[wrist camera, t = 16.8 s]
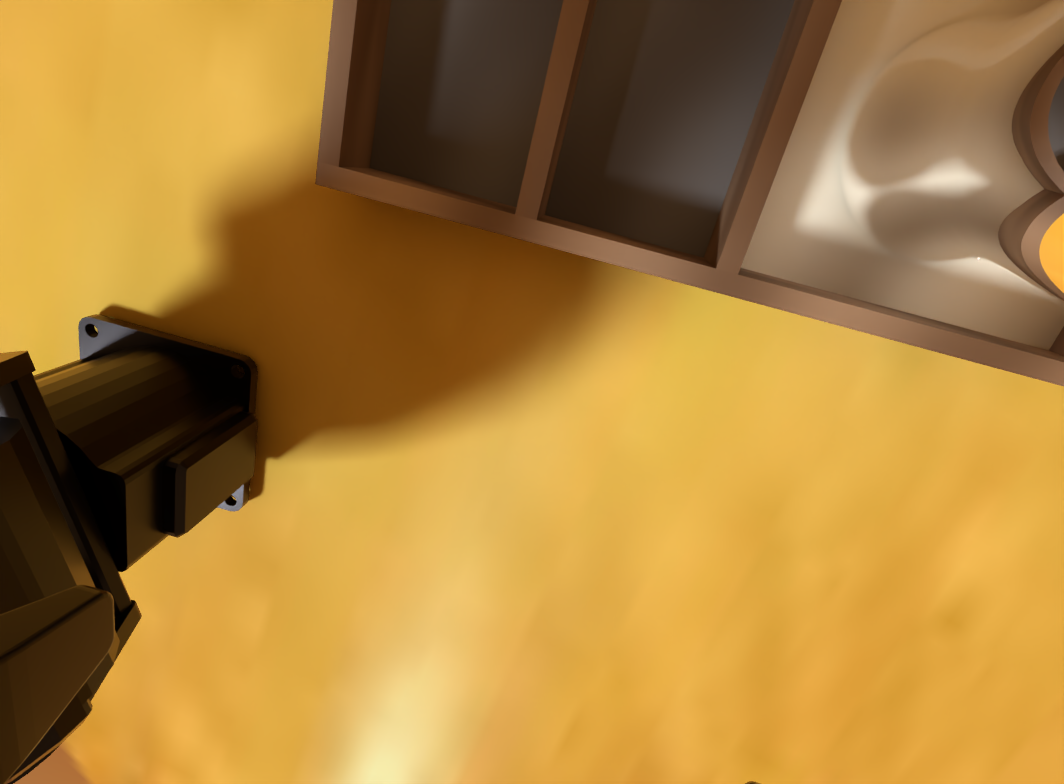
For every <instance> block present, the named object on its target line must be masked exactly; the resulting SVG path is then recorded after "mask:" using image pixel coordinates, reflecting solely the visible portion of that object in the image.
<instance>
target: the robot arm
mask: <svg viewBox="0 0 1064 784" xmlns="http://www.w3.org/2000/svg"><path fill="white" fill-rule="evenodd" d="M94 326H95V327H96V328H97V329H98V333H97V331H96V330H95V328H94ZM79 347H80V360H77V361H75V362H72V363H69V364H66V365H63V366H60V367H57V368H55V369H52V370H49V371H46V372H43V373H40V374H37V375H35V376H33V374H32V372H33V371H35V367H34V365H33V363H32V360H31V358H30V356H29V353H28V351H18V352H8V353H0V784H13V783H15V782H16V781H18V780H19V779H21V778H22V777H24V776H25V775H26V774H28V773H29V772H30V771H32V770H33V769H34V768H35V767H37V766H38V765H39V764H40V763H41V762H43V761H44V760H45V759H46V758H47V757H49V756H50V755H51V753H53V752H54V751H55V749H57V748H58V747H59V745H60V744H61V743H62V742H63V741H64V740H65V739H66V738H67V737H68V736H69V735H70V734H72V733H73V732H74V731H75V730H76V729H77V728H78V727H79V726H80V725H81V724H82V723H83V722H84V721H85V719H86V718H87V716H88V715H89V713H90V712H91V710H92V704H91V700H92V698H93V697H94V695H95V693H96V692H97V690H98V688H99V687H100V685H101V683H102V682H103V680H104V678H105V677H106V675H107V673H108V672H109V670H110V669H111V667H112V666H113V664H114V662H115V660H116V658H117V657H118V655H119V653H120V652H121V650H122V648H123V647H124V645H125V643H126V642H127V640H128V638H129V637H130V635H131V633H132V632H133V630H134V629H135V627H136V625H137V624H138V622H139V620H140V619H141V616H142V615H141V613H140V611H139V608H138V606H137V604H136V602H135V601H134V600H130V597H129V595H128V593H127V591H126V588H125V586H124V584H123V581H122V579H121V577H120V574H119V572H123V571H125V570H127V569H128V568H129V567H130V566H132V565H133V564H134V563H135V562H137V561H138V560H139V559H140V558H141V557H143V556H144V555H145V554H146V553H148V552H149V551H150V550H151V549H152V548H154V547H155V546H156V545H157V544H159V543H160V542H161V541H162V540H163V539H165V538H166V537H167V536H168V535H170V536H174V537H177V538H178V537H180V536H182V535H183V534H185V533H187V532H188V531H189V530H191V529H192V528H193V527H194V526H195V525H196V524H198V523H199V522H200V521H201V520H202V519H204V518H205V517H206V516H207V515H208V514H209V513H211V512H212V511H213V510H214V509H215V508H217V507H218V508H221V509H225V510H228V511H238V510H239V509H241V508H242V507H243V506H244V505H245V504H246V503H247V502H248V499H249V485H250V479H251V478H252V477H253V475H254V465H255V452H256V438H257V425H258V421H257V419H256V416H255V401H256V387H257V373H258V371H257V366H256V364H255V362H254V361H253V360H252V359H251V358H250V357H247V356H245V355H242V354H238V353H235V352H231V351H228V350H224V349H220V348H217V347H213V346H210V345H206V344H203V343H199V342H195V341H192V340H188V339H185V338H181V337H177V336H174V335H170V334H167V333H163V332H160V331H156V330H152V329H149V328H145V327H142V326H138V325H135V324H131V323H127V322H124V321H120V320H117V319H113V318H110V317H106V316H102V315H92V316H88V317H85V318H82V319H81V321H80V322H79ZM238 365H239V366H241V367H242V368H243V369H244V372H245V374H242V373H240V371H239V370H238ZM231 495H232V496H234V497H235V498H236V500H234V499H233V498H232V497H231ZM118 571H119V572H118ZM745 784H760V783H757V782H753V781H749V782H747V783H745Z"/></svg>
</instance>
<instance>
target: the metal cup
mask: <svg viewBox="0 0 1064 784" xmlns="http://www.w3.org/2000/svg"><path fill="white" fill-rule="evenodd" d="M840 180H841V187H842V192H843V196H844V199H845V202H846V205H847V207H848V209H849V211H850V213H851V215H852V217H853V219H854V220H855V222H856V223H857V224H858V226H859V227H860V228H861V229H862V231H863V232H864V233H865V234H866V235H867V236H868V237H869V238H870V239H872V240H873V241H874V242H875V243H877V244H878V245H879V246H881V247H883V248H884V249H886V250H888V251H890V252H892V253H894V254H897V255H899V256H902V257H905V258H909V259H914V260H919V261H926V262H954V261H966V260H977V261H979V260H987V261H990V262H993V263H996V264H998V265H999V266H1001V267H1003V268H1005V269H1007V270H1009V271H1011V272H1013V273H1014V274H1016V275H1017V276H1019V277H1021V278H1022V279H1024V280H1026V281H1027V282H1029V283H1031V284H1032V285H1034V286H1036V287H1037V288H1039V289H1041V290H1042V291H1044V292H1046V293H1047V294H1049V295H1051V296H1052V297H1054V298H1056V299H1058V300H1059V301H1061V302H1063V303H1064V0H1049V1H1048V2H1046V3H1044V4H1043V5H1041V6H1039V7H1037V8H1035V9H1033V10H1030V11H1028V12H1016V13H1000V14H990V15H982V16H977V17H972V18H968V19H964V20H961V21H957V22H954V23H951V24H948V25H945V26H943V27H941V28H938V29H936V30H934V31H932V32H930V33H928V34H926V35H924V36H923V37H921V38H919V39H918V40H916V41H914V42H913V43H912V44H910V45H909V46H907V47H906V48H905V49H903V50H902V51H901V52H900V53H898V54H897V55H896V56H895V57H894V58H893V59H892V60H891V61H890V62H889V63H888V64H887V65H886V66H885V67H884V68H883V69H882V70H881V71H880V72H879V73H878V74H877V76H876V77H875V78H874V79H873V80H872V82H871V83H870V84H869V86H868V87H867V89H866V90H865V91H864V93H863V95H862V96H861V98H860V100H859V101H858V103H857V105H856V107H855V109H854V111H853V113H852V115H851V118H850V120H849V123H848V125H847V128H846V131H845V135H844V138H843V143H842V148H841V155H840Z"/></svg>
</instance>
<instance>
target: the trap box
mask: <svg viewBox="0 0 1064 784" xmlns="http://www.w3.org/2000/svg"><path fill="white" fill-rule="evenodd" d="M1048 1H1049V0H334V1H333V11H332V21H331V31H330V41H329V52H328V62H327V72H326V82H325V92H324V102H323V112H322V122H321V133H320V143H319V153H318V163H317V173H316V183H315V184H317V185H321V186H325V187H328V188H332V189H336V190H339V191H343V192H347V193H351V194H354V195H358V196H362V197H365V198H369V199H373V200H376V201H380V202H384V203H388V204H391V205H395V206H399V207H402V208H406V209H410V210H413V211H417V212H421V213H425V214H428V215H432V216H436V217H439V218H443V219H447V220H450V221H454V222H458V223H462V224H465V225H469V226H473V227H476V228H480V229H484V230H487V231H491V232H495V233H499V234H502V235H506V236H510V237H513V238H517V239H521V240H524V241H528V242H532V243H536V244H539V245H543V246H547V247H550V248H554V249H558V250H561V251H565V252H569V253H573V254H576V255H580V256H584V257H587V258H591V259H595V260H598V261H602V262H606V263H609V264H613V265H617V266H621V267H624V268H628V269H632V270H635V271H639V272H643V273H646V274H650V275H654V276H658V277H661V278H665V279H669V280H672V281H676V282H680V283H683V284H687V285H691V286H695V287H698V288H702V289H706V290H709V291H713V292H717V293H720V294H724V295H728V296H732V297H735V298H739V299H743V300H746V301H750V302H754V303H757V304H761V305H765V306H769V307H772V308H776V309H780V310H783V311H787V312H791V313H794V314H798V315H802V316H806V317H809V318H813V319H817V320H820V321H824V322H828V323H831V324H835V325H839V326H843V327H846V328H850V329H854V330H857V331H861V332H865V333H868V334H872V335H876V336H880V337H883V338H887V339H891V340H894V341H898V342H902V343H905V344H909V345H913V346H917V347H920V348H924V349H928V350H931V351H935V352H939V353H942V354H946V355H950V356H953V357H957V358H961V359H965V360H968V361H972V362H976V363H979V364H983V365H987V366H990V367H994V368H998V369H1002V370H1005V371H1009V372H1013V373H1016V374H1020V375H1024V376H1027V377H1031V378H1035V379H1039V380H1042V381H1046V382H1050V383H1053V384H1057V385H1061V386H1064V303H1063V302H1061V301H1059V300H1058V299H1056V298H1054V297H1052V296H1051V295H1049V294H1047V293H1046V292H1044V291H1042V290H1041V289H1039V288H1037V287H1036V286H1034V285H1032V284H1031V283H1029V282H1027V281H1026V280H1024V279H1022V278H1021V277H1019V276H1017V275H1016V274H1014V273H1013V272H1011V271H1009V270H1007V269H1005V268H1003V267H1001V266H999V265H998V264H996V263H993V262H990V261H987V260H979V261H977V260H966V261H954V262H926V261H919V260H914V259H909V258H905V257H902V256H899V255H897V254H894V253H892V252H890V251H888V250H886V249H884V248H883V247H881V246H879V245H878V244H877V243H875V242H874V241H873V240H872V239H870V238H869V237H868V236H867V235H866V234H865V233H864V232H863V231H862V229H861V228H860V227H859V226H858V224H857V223H856V222H855V220H854V219H853V217H852V215H851V213H850V211H849V209H848V207H847V205H846V202H845V199H844V196H843V192H842V187H841V180H840V155H841V148H842V143H843V138H844V135H845V131H846V128H847V125H848V123H849V120H850V118H851V115H852V113H853V111H854V109H855V107H856V105H857V103H858V101H859V100H860V98H861V96H862V95H863V93H864V91H865V90H866V89H867V87H868V86H869V84H870V83H871V82H872V80H873V79H874V78H875V77H876V76H877V74H878V73H879V72H880V71H881V70H882V69H883V68H884V67H885V66H886V65H887V64H888V63H889V62H890V61H891V60H892V59H893V58H894V57H895V56H896V55H897V54H898V53H900V52H901V51H902V50H903V49H905V48H906V47H907V46H909V45H910V44H912V43H913V42H914V41H916V40H918V39H919V38H921V37H923V36H924V35H926V34H928V33H930V32H932V31H934V30H936V29H938V28H941V27H943V26H945V25H948V24H951V23H954V22H957V21H961V20H964V19H968V18H972V17H977V16H982V15H990V14H1000V13H1016V12H1028V11H1030V10H1033V9H1035V8H1037V7H1039V6H1041V5H1043V4H1044V3H1046V2H1048Z"/></svg>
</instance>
